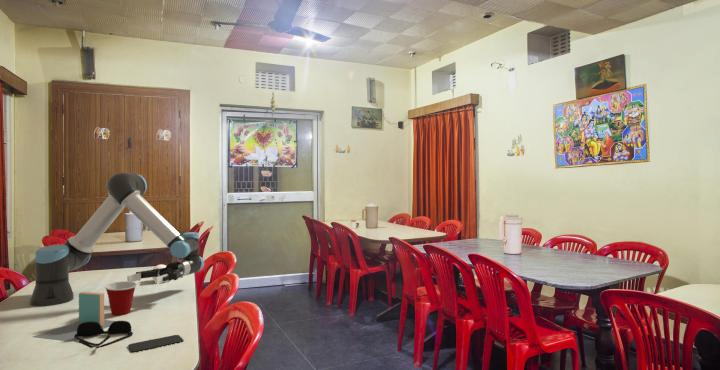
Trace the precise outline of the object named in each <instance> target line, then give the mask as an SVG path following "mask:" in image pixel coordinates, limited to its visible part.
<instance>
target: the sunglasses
mask: <svg viewBox="0 0 720 370" xmlns="http://www.w3.org/2000/svg"><path fill="white" fill-rule="evenodd" d="M114 321H115V322H113V323H112V324H111V325H110V326H109V327H107V328H108V329H107V330H104V329H103V328H102V326H101V325H100V323H98V322H94V321H89V322H83V323H81V324H80V325H79V326H78V328H77V334H75V336H74V338H76V340H78V343H79V344H81V345H83V346H86V347H88V348H90V349H93V348H96V349H99V347H100V348H102V347H106V346H109V345H112V344H114V343H117V342H120V341H123V340H124V339H127V338H129V337H132V336H133V334H134V333H133V332H134V331H133V332H132V324H131V323H130V322H129V321H127V320H114ZM101 335H107V336H106V337H105V338H104V339H103V340H102V341H100V342H99V343H95V342H94V343H93V342H91V341H88V340H86V339H83V338H86V337H87V338H89V337H97V336H101ZM111 335H124V336H122V337H119V338H118V339H114V340H112V341H110V342H107V343H105V342H106V341H108V340H109V339H111ZM79 337H81V338H79Z"/></svg>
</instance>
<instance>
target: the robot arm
mask: <svg viewBox="0 0 720 370" xmlns="http://www.w3.org/2000/svg"><path fill="white" fill-rule="evenodd" d="M106 188H107V189H106V190H107V195H108V196H107V198H106V199H105V200H103V202H102V204H101V205H100V206H99V207H98V208H97V209H96V210H95V212H94V213H93V214H92V215H91V217H90V218H89V219H88V220H87V221H86V223H85V224H84V225H83V226H82V227H81V229H80V230H79V231H78V232H77V234H76V235H74V236H70V237H69V238H67V240H65V242H64V243H63V244H51V245H47V246H43V247H40V248H38V249H37V250H36V251H35V257H34V262H35V263H34V264H35V267H34V268H35V269H34V271H35V274H34V275H35V284H34V285H35V286H34V288H33V292H32V294H31V297H30V300H29V302H30V305H31V306H34V305H37V307H43V306H44V305H45V306H53V305H60V304H63V303H68V302H70V301H72V300H74V299H75V298H74V296H75V294H74V291H73V289H72V286H71V284H70V279H69V277H70V276H69V275H70V273H69V272H71V271H75V270H79V269H81V268H82V267H85V265H87V263H89V261H90V259H91V256H92V255H91V254H92V253H93V252H94V249H95V248H94V245H95V244H96V243H97V242H98V241H99V239H100V238H101V237H102V235H104V234H105V232H106V231H107V230H108V228H109V227H110V226H112V223H113V222H114V221H115V220H116V219H117V218H118V216H119V215H120V214H121V213H122V212H123V210H125V208H127V209H128V210H129V211H130V212H131V213H132V214H133V215H134V217H136V218H137V219H138V220H139V221H140V222H141V223H142V224H143V225H144V226H145V227H146V228H147V229H149V230H150V231H151V232H152V233H153V235H155V236H156V237H157V238H158V239H159V240H160V241H161V242H162V243H163V244H164V245H165V246H166V247H167V248H168V249H169V252H170V255H171V256H172V257H173V258H175V259H178V260H176V261H173V262H170V263H168V264H167V265H165V266H166V267H165V268H162V269H158V268H157V269H154V268H153V269H148V270H142V271H136V272H135V273H133V274H130V275H127V281H129V282H136V281H141V280H142V279H148V278H149V279H150V278H152V277H155V281H154V282H155V283H154V284H155V285H158V284H164V283H166V282H168V281H177V280H178V279H180V278H181V279H182V278H184V277H185V276H189V275H192V274H196V273H198V272H200V271H202V270H203V269H204V266H205V261H204V259H203V257H201V256H200V236H199V235H200V234H199V232H196V231H192V232H191V231H189V232H184V233H182V234H181V233H180V232H179V231H178V230H177V229H176V228H175V227H174V226H173V225H171V223H170V222H169V221H168V220H166V218H165V217H163V215H162V214H160V212H158V211H157V209H156V208H155V207H153V206H152V204H150V203H149V201H147V200H146V199H145V198H144V197H143V196H144V195H145V193H146V192H147V189H148V185H147V181H146V178H144V177H143V175H141V174H138V173H135V172H116V173H114V174H112V175H111V176H110V177H109V178H108V180H107V183H106ZM179 259H180V260H179ZM158 274H159V275H160V276H158ZM163 282H164V283H163ZM41 305H42V306H41ZM45 306H44V307H45Z"/></svg>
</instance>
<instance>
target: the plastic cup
mask: <svg viewBox="0 0 720 370" xmlns="http://www.w3.org/2000/svg"><path fill="white" fill-rule="evenodd" d="M137 285H138V283H137V282H136V281H134V282H129V281H125V280H124V281H115V282H111V283H108V284H106V285H105V286H104V288H105V291H106V293H107V299H108V302H109V307H110V311H111V316H113V317H120V316H127V315H128V314H130V313H131V309H132V304H133V299H134V294H135V289H136V288H137Z"/></svg>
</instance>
